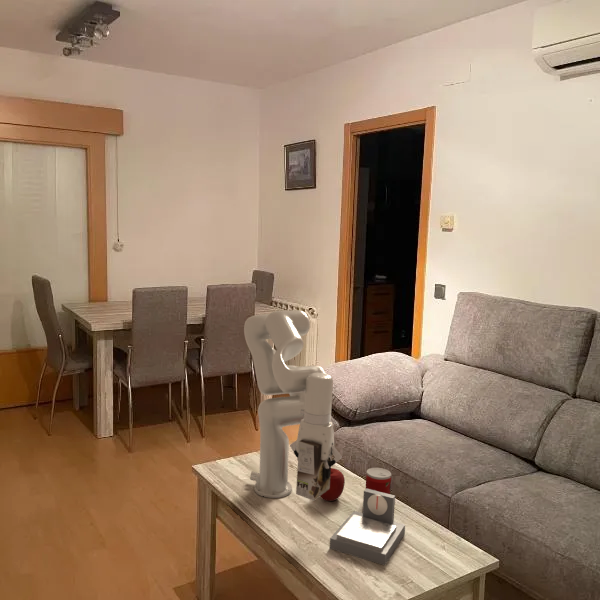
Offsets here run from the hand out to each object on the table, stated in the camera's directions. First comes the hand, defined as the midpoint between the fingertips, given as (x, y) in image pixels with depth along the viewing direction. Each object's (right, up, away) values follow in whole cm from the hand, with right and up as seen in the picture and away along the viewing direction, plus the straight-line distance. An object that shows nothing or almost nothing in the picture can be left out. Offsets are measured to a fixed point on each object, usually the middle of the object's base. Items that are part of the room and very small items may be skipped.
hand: (314, 476), depth 164 cm
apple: (+6, -15, +24) cm, 29 cm away
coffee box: (0, -5, +1) cm, 5 cm away
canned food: (+21, -16, +21) cm, 34 cm away
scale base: (+15, -18, -1) cm, 24 cm away
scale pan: (+15, -15, -2) cm, 22 cm away
